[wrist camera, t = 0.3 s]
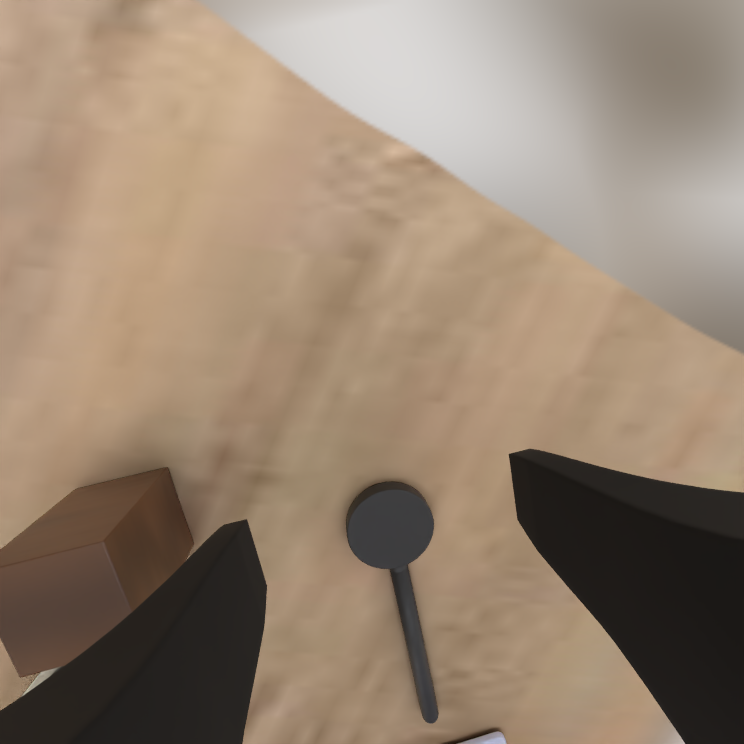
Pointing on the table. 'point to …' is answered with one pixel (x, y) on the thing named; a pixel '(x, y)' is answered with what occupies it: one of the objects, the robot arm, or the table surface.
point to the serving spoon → (397, 562)
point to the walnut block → (88, 567)
